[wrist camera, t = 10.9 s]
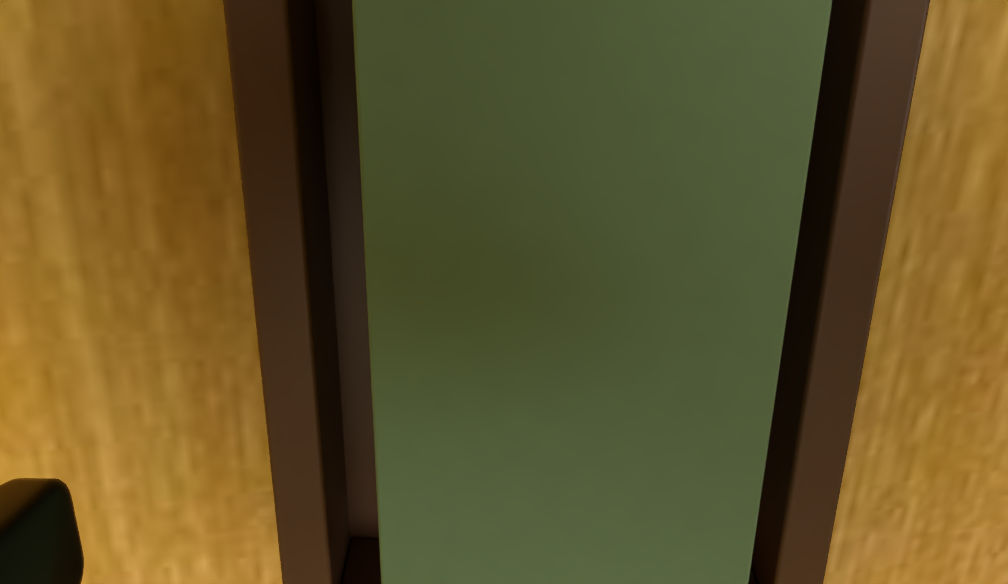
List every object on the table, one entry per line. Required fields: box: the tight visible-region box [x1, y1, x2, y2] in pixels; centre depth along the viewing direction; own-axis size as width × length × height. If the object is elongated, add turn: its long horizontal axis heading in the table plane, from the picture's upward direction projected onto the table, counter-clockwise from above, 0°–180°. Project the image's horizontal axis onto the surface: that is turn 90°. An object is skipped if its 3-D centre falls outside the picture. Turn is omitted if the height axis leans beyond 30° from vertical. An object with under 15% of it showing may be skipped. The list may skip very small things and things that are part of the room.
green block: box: [352, 0, 832, 584], centre depth 13 cm, size 9×5×4 cm, turn 179°
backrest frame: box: [223, 0, 930, 584], centre depth 14 cm, size 9×13×2 cm
